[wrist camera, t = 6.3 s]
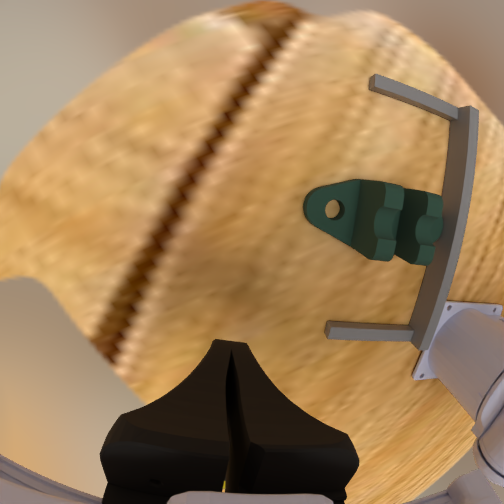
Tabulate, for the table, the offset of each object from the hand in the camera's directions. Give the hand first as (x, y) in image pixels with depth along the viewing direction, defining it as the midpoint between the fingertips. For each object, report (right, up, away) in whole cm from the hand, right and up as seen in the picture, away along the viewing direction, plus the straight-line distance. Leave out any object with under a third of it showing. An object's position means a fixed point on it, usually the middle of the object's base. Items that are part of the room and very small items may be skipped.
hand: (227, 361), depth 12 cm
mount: (+10, +7, +9) cm, 15 cm away
